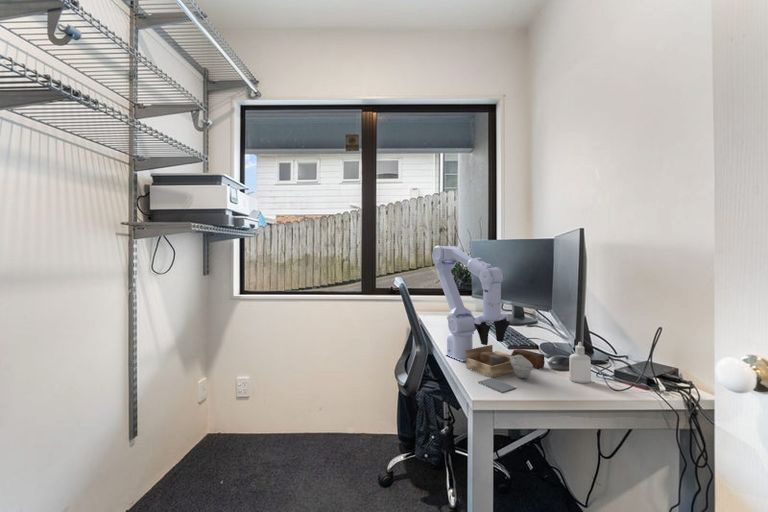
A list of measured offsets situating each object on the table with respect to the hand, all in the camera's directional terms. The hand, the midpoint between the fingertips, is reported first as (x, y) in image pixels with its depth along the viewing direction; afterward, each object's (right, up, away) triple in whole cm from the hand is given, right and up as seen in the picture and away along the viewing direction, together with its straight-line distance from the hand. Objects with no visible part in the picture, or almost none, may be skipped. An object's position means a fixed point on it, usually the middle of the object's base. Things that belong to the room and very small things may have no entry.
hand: (492, 342), depth 115 cm
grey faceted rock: (+7, -9, -8) cm, 14 cm away
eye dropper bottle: (+23, -9, -11) cm, 28 cm away
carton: (+1, -9, +1) cm, 9 cm away
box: (0, -9, 0) cm, 9 cm away
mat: (-3, -9, -14) cm, 17 cm away
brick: (+14, -9, +5) cm, 18 cm away
